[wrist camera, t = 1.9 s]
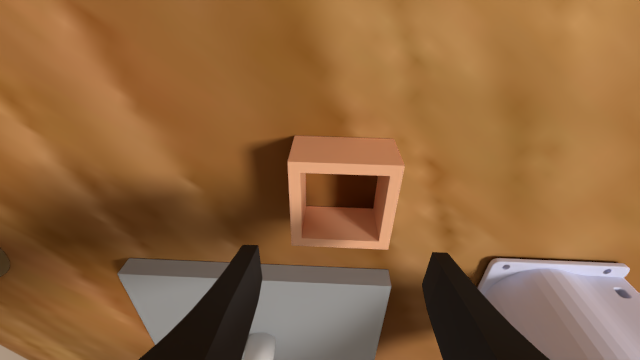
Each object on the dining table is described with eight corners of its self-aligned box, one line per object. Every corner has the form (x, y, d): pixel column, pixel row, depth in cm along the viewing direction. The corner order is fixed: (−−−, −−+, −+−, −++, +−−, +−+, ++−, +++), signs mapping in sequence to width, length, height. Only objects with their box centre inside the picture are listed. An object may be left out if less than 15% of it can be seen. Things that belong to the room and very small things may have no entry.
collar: (394, 138, 17) (404, 165, 14) (381, 215, 20) (388, 249, 17) (294, 135, 17) (287, 161, 14) (297, 212, 20) (291, 245, 17)
